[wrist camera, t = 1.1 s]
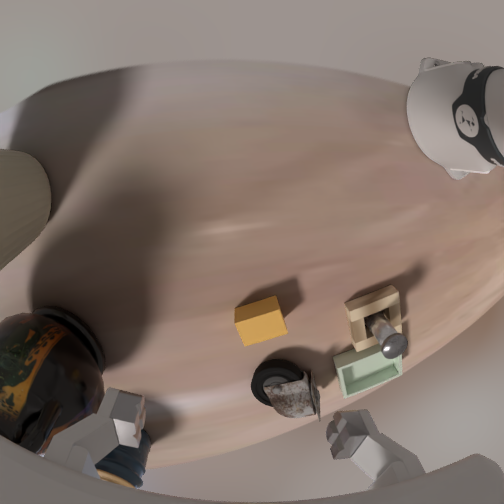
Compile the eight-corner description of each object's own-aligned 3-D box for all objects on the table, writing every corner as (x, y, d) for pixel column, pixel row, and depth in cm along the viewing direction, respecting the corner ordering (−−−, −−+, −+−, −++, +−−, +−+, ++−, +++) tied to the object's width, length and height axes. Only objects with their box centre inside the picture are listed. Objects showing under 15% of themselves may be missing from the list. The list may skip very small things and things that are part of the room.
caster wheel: (248, 357, 47) (307, 344, 45) (268, 407, 48) (322, 397, 46) (240, 380, 40) (307, 366, 38) (263, 431, 42) (323, 421, 39)
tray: (393, 332, 44) (401, 342, 41) (395, 364, 46) (402, 374, 43) (332, 356, 44) (337, 368, 42) (339, 387, 47) (344, 398, 44)
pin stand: (391, 284, 41) (398, 291, 38) (395, 324, 43) (401, 333, 41) (343, 303, 41) (349, 311, 39) (351, 343, 44) (356, 352, 41)
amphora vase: (72, 269, 37) (-50, 392, 11) (144, 376, 44) (101, 521, 18) (6, 309, 39) (-79, 398, 13) (68, 394, 46) (18, 496, 20)
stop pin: (381, 300, 41) (407, 331, 33) (383, 319, 43) (407, 352, 34) (359, 309, 42) (382, 343, 33) (362, 328, 43) (383, 363, 35)
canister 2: (162, 448, 52) (150, 512, 35) (116, 448, 53) (100, 505, 36) (133, 414, 48) (112, 485, 31) (86, 414, 48) (60, 475, 32)
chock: (275, 294, 40) (279, 309, 36) (283, 317, 42) (287, 333, 38) (234, 307, 41) (234, 323, 37) (244, 330, 42) (244, 346, 38)
